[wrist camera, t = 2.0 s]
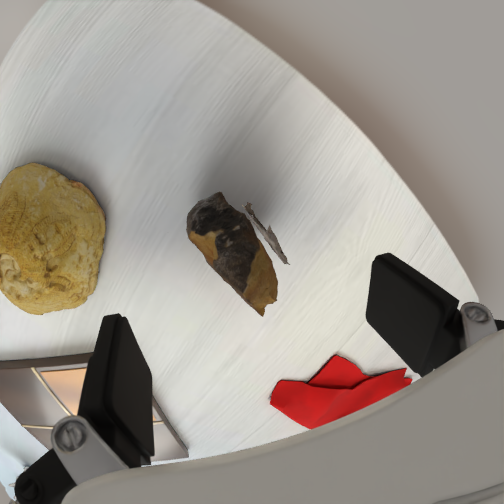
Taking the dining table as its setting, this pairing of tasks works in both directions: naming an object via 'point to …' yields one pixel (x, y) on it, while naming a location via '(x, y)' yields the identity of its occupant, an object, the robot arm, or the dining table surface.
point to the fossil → (48, 240)
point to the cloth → (334, 393)
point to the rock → (236, 249)
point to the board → (65, 400)
